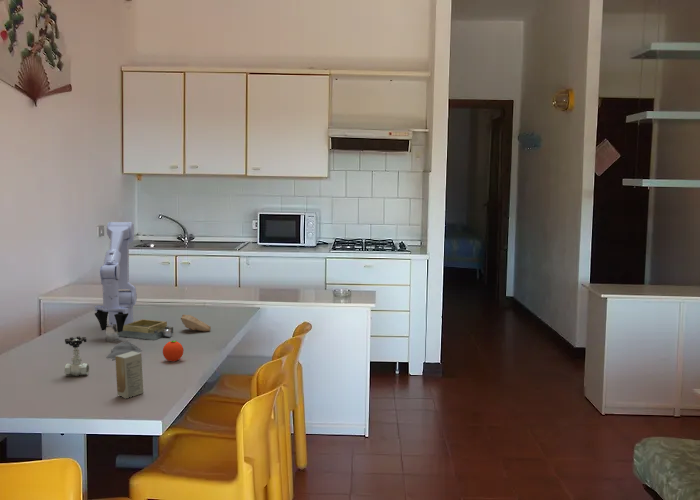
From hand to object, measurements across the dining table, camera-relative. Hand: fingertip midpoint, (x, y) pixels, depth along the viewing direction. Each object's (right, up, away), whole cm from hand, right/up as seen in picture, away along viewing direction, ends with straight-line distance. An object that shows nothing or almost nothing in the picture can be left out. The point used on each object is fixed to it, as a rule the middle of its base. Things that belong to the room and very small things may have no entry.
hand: (112, 330), depth 262 cm
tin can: (0, -4, +1) cm, 4 cm away
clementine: (+31, -7, -27) cm, 42 cm away
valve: (+5, -9, -45) cm, 46 cm away
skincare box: (+27, -11, -63) cm, 70 cm away
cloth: (+9, -6, -15) cm, 19 cm away
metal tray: (+11, -3, +9) cm, 15 cm away
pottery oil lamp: (+29, -2, +15) cm, 33 cm away
